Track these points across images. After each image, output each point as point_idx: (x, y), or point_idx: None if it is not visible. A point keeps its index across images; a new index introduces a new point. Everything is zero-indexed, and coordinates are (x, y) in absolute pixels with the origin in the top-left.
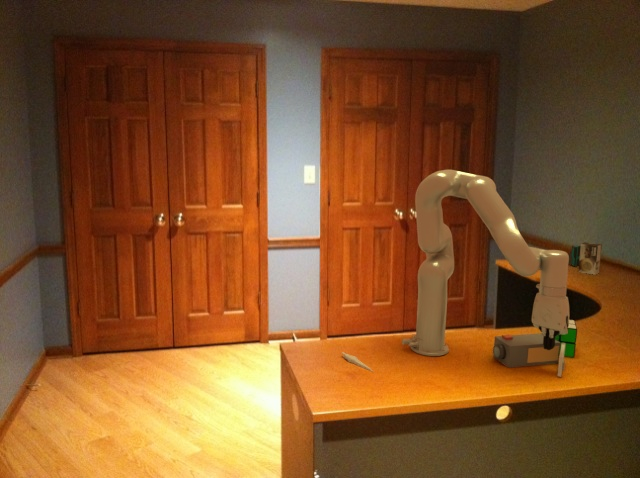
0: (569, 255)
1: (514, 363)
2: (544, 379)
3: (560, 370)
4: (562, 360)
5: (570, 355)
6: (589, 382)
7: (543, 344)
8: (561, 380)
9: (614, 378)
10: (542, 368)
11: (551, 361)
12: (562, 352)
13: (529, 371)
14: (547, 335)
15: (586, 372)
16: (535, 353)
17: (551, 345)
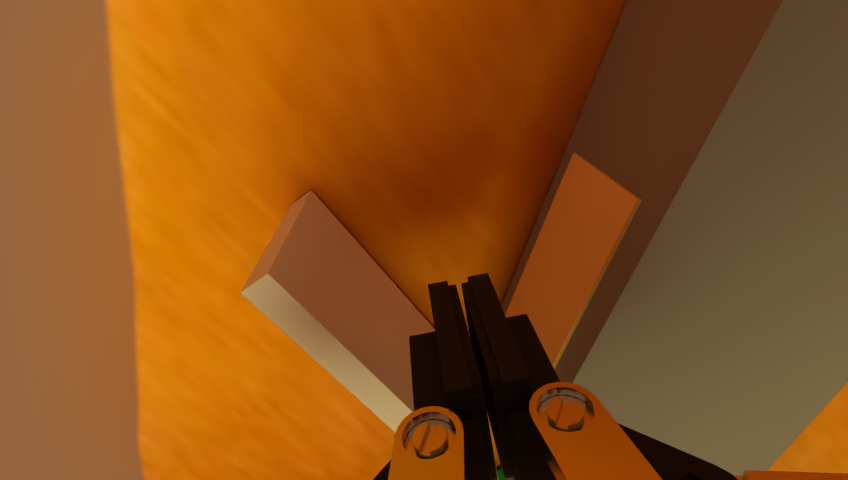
0: None
1: (634, 22)
2: (315, 55)
3: (287, 219)
4: (255, 269)
5: (501, 475)
6: (174, 307)
7: (522, 315)
8: (255, 168)
9: (190, 451)
10: (475, 217)
11: None
12: (340, 369)
13: (488, 76)
14: (511, 429)
15: (307, 396)
16: (574, 248)
17: (419, 345)
